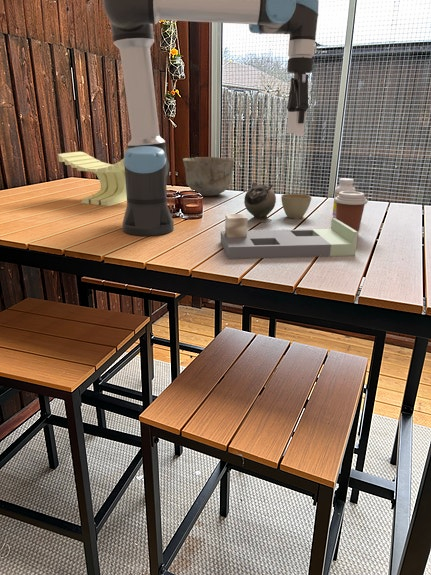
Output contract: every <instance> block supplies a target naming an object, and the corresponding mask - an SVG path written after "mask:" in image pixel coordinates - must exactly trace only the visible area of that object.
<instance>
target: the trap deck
mask: <svg viewBox="0 0 431 575" xmlns="http://www.w3.org/2000/svg"><path fill="white" fill-rule="evenodd" d="M358 235H359V232H357V231H356V230H354V229H352V228H351V227H349V226H347V225H346V224H344V223H343V222H341V221H339V220H338V219H336V218H334V217H333V218H332V217H331V226H330V228H311V229H310V228H307V229H306V228H305V229H265V230H264V229H261V230H257V229H256V230H247V237H230V238H228V237H227V235H226V233H225V230H221V231H220V244H221V246H222V248H223V251H224V253H225V255H226V257H227V259H228V260H239V259H242V260H244V259H276V258H277V259H279V258H310V257H311V258H313V257H315V258H316V257H345V256H356V250H357V242H358Z"/></svg>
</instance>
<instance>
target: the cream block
mask: <svg viewBox="0 0 431 575" xmlns="http://www.w3.org/2000/svg"><path fill="white" fill-rule="evenodd" d="M224 220H225V221H224V222H225V224H224V226H225V227H224V228H225V230H224V231H225V233H226V235H227V237H228V238H230V237H247V231H248V220H249V218H248V217H247V215H246V214H245V213H225V218H224Z"/></svg>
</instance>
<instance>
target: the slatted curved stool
mask: <svg viewBox="0 0 431 575" xmlns="http://www.w3.org/2000/svg"><path fill="white" fill-rule="evenodd" d="M57 157H58V162H59V163H63V162H64V165H65V166H69V165H70V167H71V168H73V169H74V168H75V169H76V170H77V172H92V173H93V174H95V175H96V177H97V179H98V180H99V183H100V189H99V191H97V192H96V193H94V194H92V195H89V196H86V197H83V198H82V199H81V202H80V203H81V204H87V205H89V204H90V205H97V206H104V207H106V206H107V207H110V206H113V205H118V204H119V203H124V202H127V195H126V180H125V166H124V162H123V161H124V157H123V158H122V159H121V160H119V161H117V162H116V163H114V164H113V163H112V164H111V163H107V162H103V161H101V160H100V159H98V158H95V157H94V156H91V155H89V154H88V153H86V152H84V151H74V152H63V153H57Z"/></svg>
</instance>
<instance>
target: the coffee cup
mask: <svg viewBox="0 0 431 575" xmlns="http://www.w3.org/2000/svg"><path fill="white" fill-rule="evenodd" d="M334 201H335V202H336V219H338V220H339V221H341V222H343V223H344V224H346V225H347V226H349V227H351V228H352V229H354V230H356V231H357V232H358V233H360V228H361V224H362V223H361V222H362V218H363V213H364V209H365V206H366V204H368V202H369V201H368V199H367V198H366V197H365V193H364V192H361V191H341V192H339V195H338V196H337V197H336V198H335V199H334V198H333V202H334Z"/></svg>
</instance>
